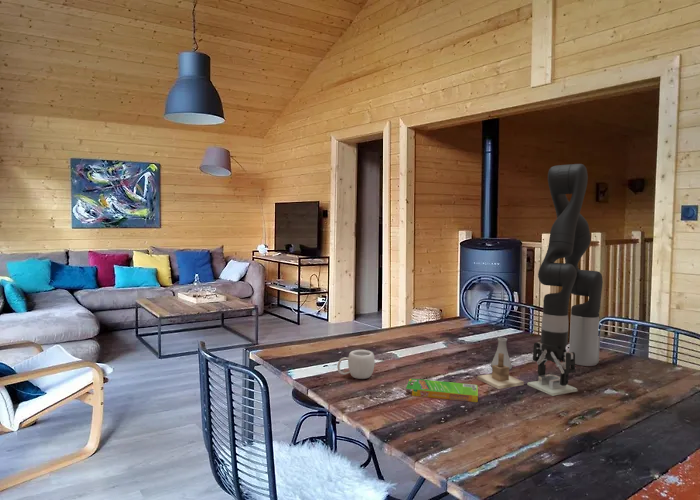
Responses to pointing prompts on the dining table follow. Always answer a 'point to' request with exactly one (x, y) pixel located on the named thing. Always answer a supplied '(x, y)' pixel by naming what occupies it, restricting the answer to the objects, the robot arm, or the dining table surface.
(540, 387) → the coaster
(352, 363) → the mug
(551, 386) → the c link
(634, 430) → the dining table surface
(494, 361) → the flask
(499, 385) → the post stand
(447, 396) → the game box
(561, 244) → the robot arm
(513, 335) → the dining table surface
